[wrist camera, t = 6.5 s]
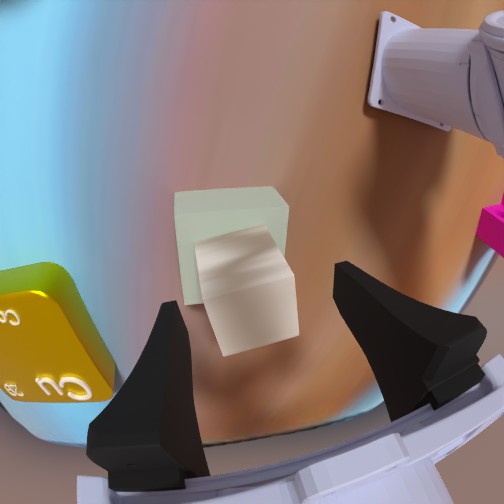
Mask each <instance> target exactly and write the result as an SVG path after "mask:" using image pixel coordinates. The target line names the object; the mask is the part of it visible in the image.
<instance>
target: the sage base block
mask: <svg viewBox="0 0 504 504" xmlns="http://www.w3.org/2000/svg"><path fill="white" fill-rule="evenodd" d="M288 214H289V206H288V204H287V203H286V202H285V201H284V199H283V198H282V197H281V196H280V195H279V193H278V192H277V191H276V190H275V188H274V187H273V186H266V187H244V188H225V189H210V190H196V191H183V192H175V198H174V217H175V228H176V238H177V247H178V256H179V265H180V273H181V281H182V289H183V296H184V303H185V305H192V304H201V303H203V300H202V293H201V287H200V280H199V274H198V267H197V260H196V253H195V245H194V242H196V241H200V240H204V239H208V238H211V237H215V236H219V235H223V234H227V233H231V232H235V231H239V230H242V229H246V228H250V227H254V226H258V225H262V224H265V226H266V227H267V229H268V231H269V233H270V234H271V236H272V238H273V239H274V241H275V243H276V245H277V246H278V248H279V250H280V252H281V253H282V255H283V257H284V255H285V245H286V235H287V225H288Z"/></svg>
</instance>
